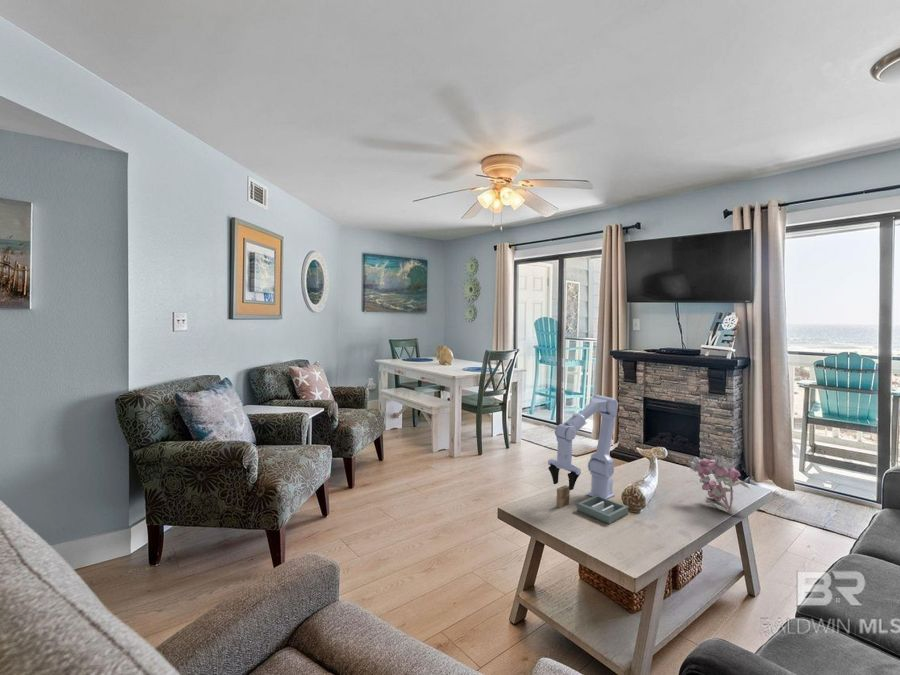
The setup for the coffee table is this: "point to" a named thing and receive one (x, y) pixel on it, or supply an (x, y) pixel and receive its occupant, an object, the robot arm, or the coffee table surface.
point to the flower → (717, 478)
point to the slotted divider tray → (602, 509)
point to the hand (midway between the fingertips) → (563, 486)
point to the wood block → (563, 496)
